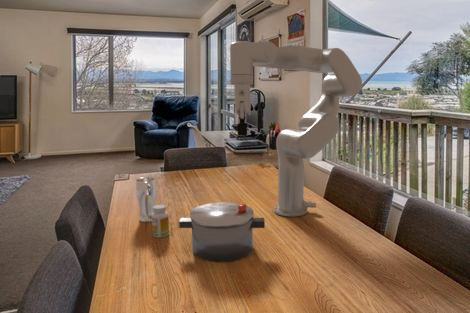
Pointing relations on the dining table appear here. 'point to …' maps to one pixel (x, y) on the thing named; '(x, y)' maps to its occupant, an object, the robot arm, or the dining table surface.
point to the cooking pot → (222, 240)
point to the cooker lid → (221, 215)
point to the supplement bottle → (160, 221)
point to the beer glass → (146, 197)
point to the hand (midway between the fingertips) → (242, 135)
